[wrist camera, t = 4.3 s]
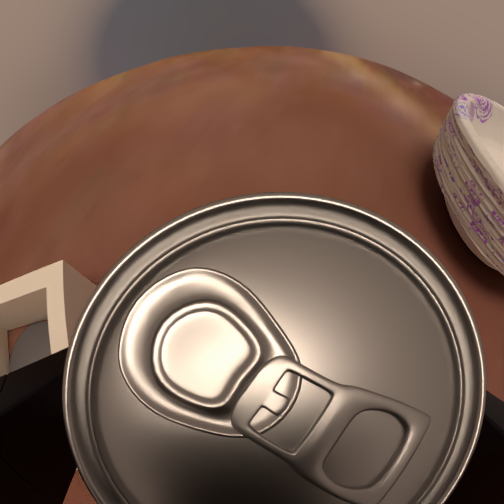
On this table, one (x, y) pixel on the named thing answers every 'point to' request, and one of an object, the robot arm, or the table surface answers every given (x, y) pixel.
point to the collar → (41, 313)
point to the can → (275, 362)
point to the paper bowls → (474, 174)
